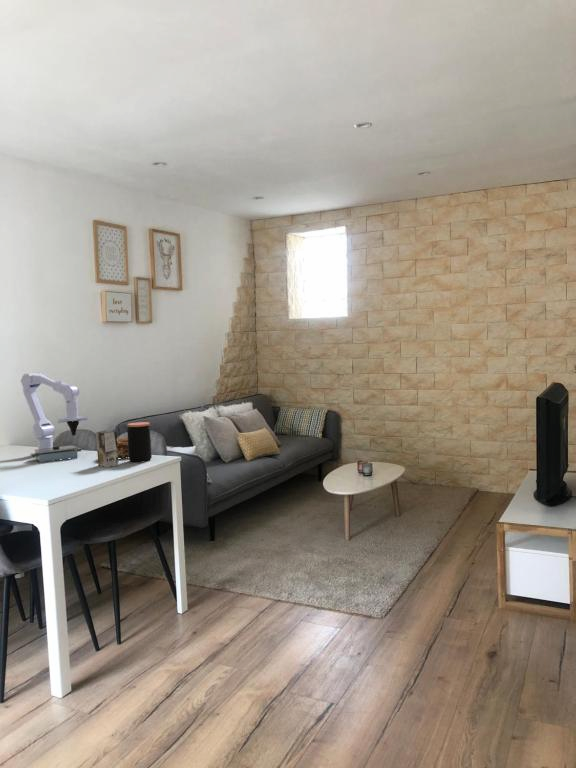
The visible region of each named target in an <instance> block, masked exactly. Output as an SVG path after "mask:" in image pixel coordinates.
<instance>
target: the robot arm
mask: <svg viewBox="0 0 576 768" xmlns="http://www.w3.org/2000/svg"><path fill="white" fill-rule="evenodd" d="M20 383H21V385H22V392H23V395H24V397H25V399H26V402H27V405H28V408H29V410H30V412H31V415H32V417H33V420H34V422H35V423H34V424H33V426H32V428H33V434H34V437H36V439H37V449H44V448H53V446H54V444H53V438H54V435H55V434H56V429H55V426H54V425H53V424H52V422H51V421H50V420H49V419H47V418H46V416H45V413H44V410H43V407H42V406H41V403H40V401H39V398H38V396H37V394H36V392H37V389H38V388H39V387H40V386H41V384H43V385H46V386H47V387H51V388H52V390H53V391H54V392H56V393H59V394H61V395H63V397H64V400H65V409H66V417H65V418H57V423H58V424H59V423H60V424H62V423H67V426H68V427H69V430H70V432H71V436H76V435H77V429H78V427H79V424H80V422H81V421H83V422H85V421H88V416H79V407H78V406H79V404H78V396H79V394H80V390H79V387H77V386H76V385H72V386H71V384H69V383H65V382H64V381H63V380H62V379H61V380H57V381H56V380H53V379H52V378H49V377H48V376H46V375H44V374H43V373H40V372H33V373H24V374H23V375H22V376H21V379H20Z"/></svg>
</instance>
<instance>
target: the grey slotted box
mask: <svg viewBox="0 0 576 768" xmlns="http://www.w3.org/2000/svg"><path fill="white" fill-rule="evenodd" d="M79 452H82V448H80V447H78V449H74V450H66V451H57V452H49V453H40V454H39V453H37V452H35V451H34V452H33V453H30V454H29V455H30V457H31V458H35V460H36V459H37V460H38V461H39V463H40V462H43V463H47V462H46V461H51V462H54V461H53V460H59V461H61V460H60V459H67V460H69V459H68V458H75V459H78V458H77V457H78V453H79ZM37 460H36V461H37ZM38 461H37V462H38Z"/></svg>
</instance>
